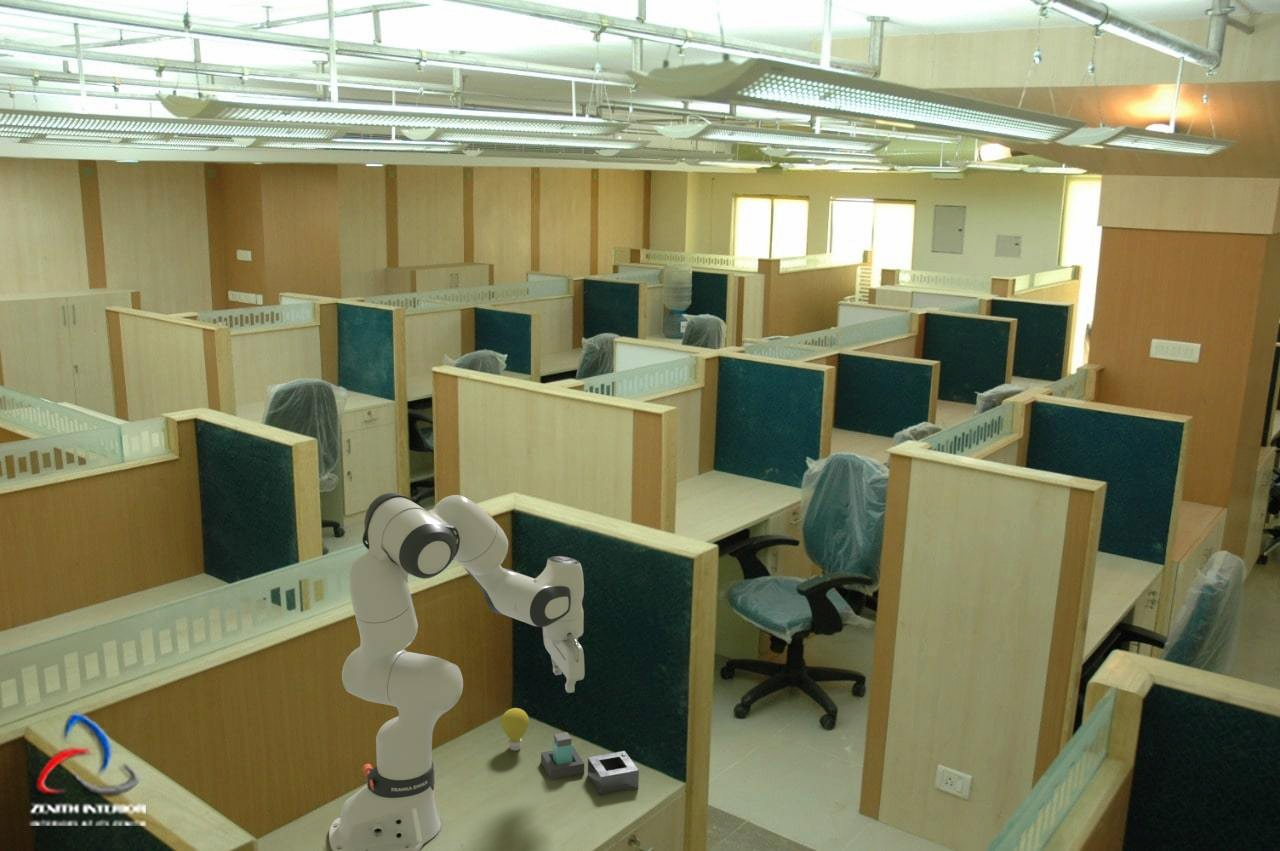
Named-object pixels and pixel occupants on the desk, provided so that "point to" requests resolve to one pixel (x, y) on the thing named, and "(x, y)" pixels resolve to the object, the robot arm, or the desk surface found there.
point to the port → (613, 773)
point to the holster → (562, 765)
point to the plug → (562, 749)
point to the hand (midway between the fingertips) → (563, 682)
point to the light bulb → (515, 726)
